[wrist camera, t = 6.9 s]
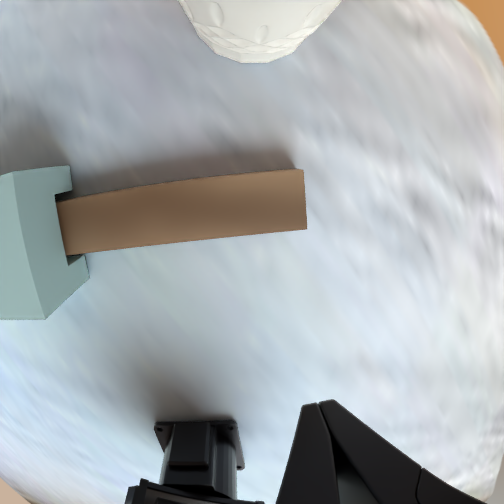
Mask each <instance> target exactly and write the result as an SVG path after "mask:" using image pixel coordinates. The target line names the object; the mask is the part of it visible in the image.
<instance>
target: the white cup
mask: <svg viewBox="0 0 504 504" xmlns="http://www.w3.org/2000/svg"><path fill="white" fill-rule="evenodd" d="M178 1H179V3H180V4H181V6H182V8H183V10H184V12H185V14H186V16H187V17H188V18H189V20H190V21H191V23H192V24H193V26H194V28H195V30H196V32H197V34H198V36H199V37H200V38H201V39H202V40H203V41H204V42H205V43H206V44H207V45H208V46H209V47H210V48H211V49H212V50H213V51H214V52H215V53H216V54H218V55H221V56H224V57H226V58H229V59H232V60H234V61H237V62H239V63H269V62H272V61H274V60H276V59H279V58H281V57H284V56H286V55H289V54H292V53H293V52H294V51H295V50H296V49H297V48H298V47H299V45H300V44H301V43H302V42H303V41H304V40H305V39H306V38H307V37H308V36H309V35H310V34H312V33H313V32H314V31H315V30H316V29H317V28H318V27H319V26H320V25H321V24H322V23H323V22H324V21H325V20H326V18H327V17H328V16H329V15H330V14H331V13H332V12H333V10H334V9H335V8H336V7H337V6H338V5H339V3H340V2H341V1H342V0H178Z"/></svg>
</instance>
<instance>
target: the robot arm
mask: <svg viewBox="0 0 504 504" xmlns="http://www.w3.org/2000/svg"><path fill="white" fill-rule="evenodd" d="M230 426H231V427H230ZM154 431H155V433H156V436H157V438H158V440H159V443H160V445H161V447H162V449H163V452H164V459H163V464H162V469H161V474H160V479H159V484H156V483H152V482H149V480H146V479H142V478H141V480H140V484H139V486H138V485H137V486H132V487H129V488H128V492H127V496H126V500H125V504H265V503H264V502H263V501H255V502H253V501H244V500H237V470H243V469H244V468H245V463H244V459H243V454H242V449H241V443H240V438H239V433H238V428H237V423H236V422H235V421H233V420H223V421H201V422H156V423H155V425H154ZM421 468H422V467H421V466H420V465H419V464H418V463H416V462H415V461H414V460H412V459H411V458H409V457H408V456H407V455H405V454H404V453H403V452H401V451H400V450H399V449H397V448H396V447H395V446H393V445H392V444H391V443H389V442H388V441H387V440H385V439H384V438H383V437H381V436H380V435H379V434H377V433H376V432H375V431H373V430H372V429H371V428H370V427H368V426H367V425H366V424H364V423H363V422H362V421H361V420H359V419H358V418H357V417H356V416H354V415H353V414H352V413H350V412H349V411H348V410H347V409H345V408H344V407H343V406H342V405H340V404H339V403H338V402H337V401H335V400H333V399H330V400H326V401H321V402H319V403H318V404H317V403H311V404H305V405H303V406H302V407H301V412H300V416H299V420H298V424H297V428H296V432H295V436H294V440H293V444H292V447H291V451H290V455H289V459H288V462H287V466H286V470H285V473H284V477H283V480H282V484H281V487H280V490H279V494H278V497H277V500H276V504H487V503H485V502H483V501H480V500H478V499H476V498H474V497H472V496H470V495H468V494H466V493H464V492H462V491H460V490H458V489H456V488H454V487H452V486H450V485H449V484H447V483H446V482H444V481H442V480H441V479H439V478H438V477H436V476H435V475H433V474H432V473H430V472H429V471H428V470H426V469H425V468H422V469H421Z"/></svg>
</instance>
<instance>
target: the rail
mask: <svg viewBox="0 0 504 504" xmlns="http://www.w3.org/2000/svg"><path fill="white" fill-rule="evenodd" d="M56 208H57V214H58V220H59V225H60V231H61V236H62V241H63V245H64V250H65V255H66V256H67V255H75V254H83V253H91V252H99V251H108V250H116V249H124V248H133V247H142V246H151V245H159V244H168V243H177V242H187V241H196V240H205V239H215V238H224V237H234V236H243V235H253V234H263V233H273V232H284V231H294V230H305V229H307V216H306V200H305V185H304V172H303V170H301V169H285V170H272V171H261V172H250V173H239V174H230V175H220V176H212V177H203V178H195V179H187V180H179V181H172V182H165V183H158V184H151V185H145V186H138V187H132V188H126V189H120V190H114V191H108V192H103V193H97V194H92V195H87V196H81V197H76V198H71V199H66V200H62V201H57V202H56Z"/></svg>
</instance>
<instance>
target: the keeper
mask: <svg viewBox="0 0 504 504" xmlns="http://www.w3.org/2000/svg"><path fill="white" fill-rule="evenodd" d="M70 190H73V189H72V182H71V174H70V166H69V165H66V166H56V167H46V168H37V169H29V170H21V171H13V172H10V173H7V174H4V175H1V176H0V320H41V319H46V318H47V317H48V316H49V315H51V314H52V313H53V312H54V311H55V310H56V309H57V308H58V307H59V306H60V305H61V304H62V303H63V302H64V301H65V300H66V299H67V298H68V297H69V296H71V295H72V294H73V293H74V292H75V291H76V290H77V289H78V288H79V287H80V286H81V285H82V284H84V283H85V282H86V281H87V280H88V279H89V273H88V269H87V265H86V261H85V256H84V255H79V256H71V257H66V255H65V250H64V245H63V241H62V236H61V231H60V225H59V220H58V214H57V208H56V202H55V196H54V194H58V193H62V192H66V191H70Z"/></svg>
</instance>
